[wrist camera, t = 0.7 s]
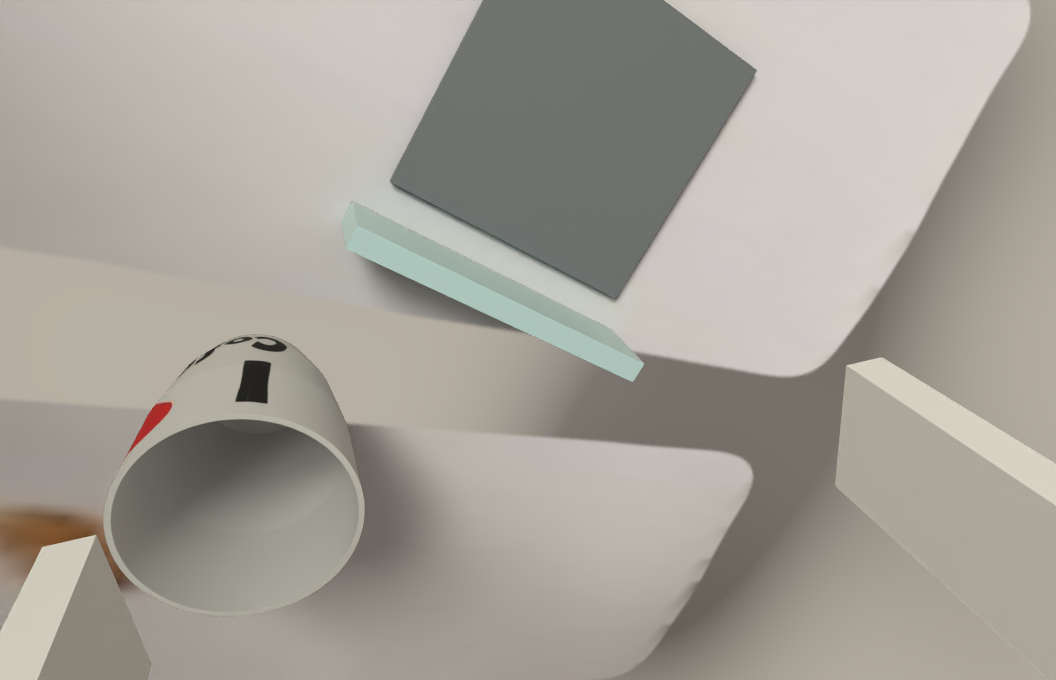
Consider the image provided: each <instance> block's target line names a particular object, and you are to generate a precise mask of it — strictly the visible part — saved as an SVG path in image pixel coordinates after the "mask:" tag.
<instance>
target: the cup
mask: <svg viewBox="0 0 1056 680" xmlns="http://www.w3.org/2000/svg"><path fill="white" fill-rule="evenodd" d="M364 516H365V504H364V496H363V491H362V487H361V483H360V478H359V474H358V469H357V465H356V460H355V456H354V451H353V447H352V442H351V438H350V433H349V429H348V426H347V424H346V421H345V419H344V417H343V415H342V413H341V410H340V408H339V406H338V404H337V402H336V400H335V398H334V395H333V393H332V391H331V389H330V387H329V385H328V383H327V381H326V379H325V377H324V376H323V374H322V373H321V372H320V371H319V370H318V368H317V367H316V366H315V365H314V364H313V363H312V362H311V361H310V360H308V358H307V357H306V356H305V355H304V354H302V352H300V351H299V350H298V349H297V348H296V347H295V346H293V345H292V344H290V343H288V342H286V341H284V340H282V339H279V338H276V337H273V336H267V335H257V334H254V335H244V336H239V337H235V338H232V339H230V340H228V341H226V342H224V343H222V344H220V345H218V346H217V347H215V348H213V349H212V350H210V351H208V352H206V353H205V354H203V355H201V356H200V357H198V358H197V359H196V360H194V361H193V362H192V363H191V364H190V365H189V366H188V367H187V368H186V369H185V370H184V371H183V372H182V374H181V375H180V376H179V377H178V378H177V379H176V381H175V382H174V383H173V384H172V385H171V387H170V388H169V389H168V390H167V391H166V393H165V394H164V395H163V396H162V397H161V399H160V400H159V401H158V402H157V403H156V405H155V406H154V407H153V408H152V410H151V411H150V413H149V414H148V416H147V418H146V420H145V422H144V424H143V426H142V427H141V429H140V431H139V433H138V435H137V437H136V439H135V441H134V443H133V444H132V446H131V448H130V450H129V452H128V454H127V456H126V458H125V460H124V461H123V463H122V465H121V467H120V469H119V471H118V473H117V475H116V477H115V479H114V480H113V482H112V485H111V487H110V489H109V492H108V495H107V498H106V502H105V507H104V533H105V538H106V541H107V545H108V548H109V550H110V552H111V554H112V557H113V558H114V560H115V562H116V563H117V565H118V567H119V568H120V569H121V571H122V572H123V573H124V574H125V575H126V576H127V578H128V579H129V580H130V581H131V582H132V583H134V584H135V585H136V586H137V587H138V588H140V589H141V590H142V591H144V592H145V593H146V594H148V595H150V596H151V597H153V598H155V599H156V600H158V601H160V602H162V603H165V604H167V605H169V606H172V607H174V608H177V609H180V610H184V611H187V612H191V613H196V614H202V615H209V616H222V617H234V616H247V615H255V614H260V613H265V612H269V611H273V610H276V609H279V608H283V607H285V606H288V605H290V604H293V603H295V602H297V601H299V600H301V599H303V598H305V597H307V596H309V595H311V594H312V593H314V592H315V591H317V590H318V589H320V588H321V587H323V586H324V585H325V584H326V583H328V582H329V581H330V580H331V579H332V578H333V577H334V576H335V575H336V574H337V573H338V572H339V571H340V570H341V569H342V568H343V566H344V565H345V564H346V563H347V561H348V560H349V558H350V557H351V555H352V554H353V552H354V550H355V548H356V546H357V544H358V541H359V539H360V536H361V533H362V529H363V524H364Z"/></svg>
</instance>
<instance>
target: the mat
mask: <svg viewBox="0 0 1056 680" xmlns="http://www.w3.org/2000/svg"><path fill="white" fill-rule="evenodd" d="M756 71H757V70H756V69H754V68H753V67H752V66H750V65H749V64H748V63H746V62H745V61H744V60H742V59H741V58H740V57H738V56H737V55H736V54H734V53H733V52H732V51H730V50H729V49H728V48H726V47H725V46H724V45H722V44H721V43H720V42H718V41H717V40H716V39H714V38H713V37H712V36H710V35H709V34H708V33H706V32H705V31H704V30H702V29H701V28H700V27H699V26H697V25H696V24H695V23H693V22H692V21H691V20H689V19H688V18H687V17H685V16H684V15H683V14H681V13H680V12H679V11H677V10H676V9H675V8H673V7H672V6H671V5H669V4H668V3H667V2H665V1H664V0H483V1H482V3H481V5H480V7H479V9H478V11H477V13H476V15H475V17H474V19H473V21H472V23H471V25H470V27H469V29H468V31H467V32H466V34H465V36H464V38H463V40H462V42H461V44H460V46H459V48H458V50H457V52H456V54H455V56H454V58H453V60H452V62H451V63H450V65H449V67H448V69H447V71H446V73H445V75H444V77H443V79H442V81H441V83H440V85H439V87H438V89H437V91H436V92H435V94H434V96H433V98H432V100H431V102H430V104H429V106H428V108H427V110H426V112H425V114H424V116H423V118H422V120H421V122H420V123H419V125H418V127H417V129H416V131H415V133H414V135H413V137H412V139H411V141H410V143H409V145H408V147H407V149H406V151H405V152H404V154H403V156H402V158H401V160H400V162H399V164H398V166H397V168H396V170H395V172H394V174H393V176H392V178H391V180H390V182H391V183H393V184H395V185H397V186H398V187H400V188H402V189H404V190H406V191H408V192H410V193H412V194H414V195H416V196H418V197H420V198H422V199H424V200H425V201H427V202H429V203H431V204H433V205H435V206H437V207H439V208H441V209H443V210H445V211H447V212H449V213H451V214H453V215H454V216H456V217H458V218H460V219H462V220H464V221H466V222H468V223H470V224H472V225H474V226H476V227H478V228H480V229H481V230H483V231H485V232H487V233H489V234H491V235H493V236H495V237H497V238H499V239H501V240H503V241H505V242H507V243H509V244H510V245H512V246H514V247H516V248H518V249H520V250H522V251H524V252H526V253H528V254H530V255H532V256H534V257H536V258H537V259H539V260H541V261H543V262H545V263H547V264H549V265H551V266H553V267H555V268H557V269H559V270H561V271H563V272H565V273H566V274H568V275H570V276H572V277H574V278H576V279H578V280H580V281H582V282H584V283H586V284H588V285H590V286H592V287H593V288H595V289H597V290H599V291H601V292H603V293H605V294H607V295H609V296H611V297H613V298H615V299H616V298H617V296H618V294H619V293H620V291H621V290H622V288H623V286H624V285H625V283H626V282H627V280H628V278H629V277H630V275H631V273H632V272H633V270H634V269H635V267H636V265H637V264H638V262H639V261H640V259H641V257H642V256H643V254H644V252H645V251H646V249H647V248H648V246H649V244H650V243H651V241H652V239H653V238H654V236H655V235H656V233H657V231H658V230H659V228H660V227H661V225H662V223H663V222H664V220H665V218H666V217H667V215H668V214H669V212H670V210H671V209H672V207H673V205H674V204H675V202H676V201H677V199H678V197H679V196H680V194H681V193H682V191H683V189H684V188H685V186H686V184H687V183H688V181H689V180H690V178H691V176H692V175H693V173H694V172H695V170H696V168H697V167H698V165H699V163H700V162H701V160H702V159H703V157H704V155H705V154H706V152H707V150H708V149H709V147H710V146H711V144H712V142H713V141H714V139H715V138H716V136H717V134H718V133H719V131H720V129H721V128H722V126H723V125H724V123H725V121H726V120H727V118H728V116H729V115H730V113H731V112H732V110H733V108H734V107H735V105H736V104H737V102H738V100H739V99H740V97H741V95H742V94H743V92H744V91H745V89H746V87H747V86H748V84H749V83H750V81H751V79H752V78H753V76H754V74H755V73H756Z"/></svg>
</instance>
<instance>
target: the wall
mask: <svg viewBox="0 0 1056 680" xmlns="http://www.w3.org/2000/svg"><path fill="white" fill-rule="evenodd" d="M342 227H343V234H344V240H345V247H346V249H347V250H349V251H352V252H354V253H356V254H358V255H360V256H362V257H365V258H367V259H369V260H371V261H373V262H375V263H377V264H380V265H382V266H384V267H386V268H388V269H390V270H392V271H395V272H397V273H399V274H401V275H403V276H405V277H407V278H410V279H412V280H414V281H416V282H418V283H420V284H423V285H425V286H427V287H429V288H431V289H433V290H435V291H438V292H440V293H442V294H444V295H446V296H448V297H450V298H453V299H455V300H457V301H459V302H461V303H463V304H466V305H468V306H470V307H472V308H474V309H476V310H478V311H481V312H483V313H485V314H487V315H489V316H491V317H493V318H496V319H498V320H500V321H502V322H504V323H506V324H508V325H511V326H513V327H515V328H517V329H519V330H521V331H524V332H526V333H528V334H530V335H532V336H534V337H536V338H539V339H541V340H543V341H545V342H547V343H549V344H552V345H554V346H556V347H558V348H560V349H562V350H564V351H567V352H569V353H571V354H573V355H575V356H577V357H579V358H582V359H584V360H586V361H588V362H591V363H592V364H594V365H597V366H599V367H601V368H603V369H605V370H607V371H610V372H612V373H614V374H616V375H618V376H620V377H623V378H625V379H627V380H629V381H631V382H633V381H634V379H635V378H636V376H637V375H638V373H639V371H640V370H641V368H642V367H643V365H644V363H643V362H642V361H641V360H640V359H639V358H638V357H637V356H636V354H635V353H634V352H633V351H632V350H631V349H630V348H629V347H628V346H627V345H626V344H625V343H624V342H623V341H622V339H621V338H620V337H619V336H618V335H617V334H616V333H615V332H614V331H613V330H612V329H610V328H608V327H606V326H604V325H602V324H599V323H597V322H595V321H593V320H591V319H589V318H587V317H585V316H583V315H581V314H579V313H577V312H575V311H573V310H571V309H569V308H567V307H565V306H563V305H561V304H559V303H557V302H555V301H553V300H551V299H549V298H547V297H545V296H543V295H541V294H539V293H537V292H535V291H533V290H531V289H529V288H527V287H525V286H523V285H521V284H519V283H517V282H515V281H513V280H511V279H509V278H507V277H505V276H503V275H501V274H499V273H497V272H494V271H492V270H490V269H488V268H486V267H484V266H482V265H480V264H478V263H476V262H474V261H472V260H470V259H468V258H466V257H464V256H462V255H460V254H458V253H456V252H454V251H452V250H450V249H448V248H446V247H444V246H442V245H440V244H438V243H436V242H434V241H432V240H430V239H428V238H426V237H424V236H422V235H420V234H418V233H416V232H414V231H412V230H410V229H408V228H406V227H404V226H402V225H400V224H398V223H396V222H394V221H391V220H389V219H387V218H385V217H383V216H381V215H379V214H377V213H375V212H373V211H371V210H369V209H367V208H365V207H363V206H361V205H359V204H357V203H355V202H353V201H352V202H351V204H350V206H349V208H348V210H347V212H346V214H345V216H344V218H343V220H342Z"/></svg>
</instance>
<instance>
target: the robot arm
mask: <svg viewBox="0 0 1056 680" xmlns="http://www.w3.org/2000/svg"><path fill="white" fill-rule="evenodd" d="M835 486H836V487H837V488H838V489H839V490H840V491H841V492H843V493H844V494H845V495H846V496H847V497H848V498H849V499H850V500H851V501H853V503H855V504H856V505H857V506H858V507H859V508H860V509H861V510H862V511H863V512H864V513H866V514H867V515H868V516H869V517H870V518H871V519H872V520H873V521H874V522H875V523H877V524H878V525H879V526H880V527H881V528H882V529H883V530H884V531H885V532H886V533H887V534H889V535H890V536H891V537H892V538H893V539H894V540H895V541H896V542H897V543H899V545H901V546H902V547H903V548H904V549H905V550H906V551H907V552H908V553H909V554H910V555H911V556H913V557H914V558H915V559H916V560H917V561H918V562H919V563H920V564H921V565H922V566H923V567H925V568H926V569H927V570H928V571H929V572H930V573H931V574H933V576H935V577H936V578H937V579H938V580H939V581H940V582H941V583H942V584H943V585H944V586H945V587H946V588H948V589H949V590H950V591H951V592H952V593H953V594H954V595H955V596H956V597H958V598H959V599H960V600H961V601H962V602H963V603H964V604H965V605H966V606H967V607H968V608H969V609H971V610H972V611H973V612H974V613H975V614H976V615H977V616H978V617H979V618H980V619H981V620H983V621H984V622H985V623H986V624H987V625H988V626H989V627H990V628H991V629H992V630H994V631H995V632H996V633H997V634H998V635H999V636H1000V637H1001V638H1002V639H1003V640H1004V641H1006V642H1007V643H1008V644H1009V645H1010V646H1011V647H1012V648H1013V649H1014V650H1016V651H1017V652H1018V653H1019V654H1020V655H1021V656H1022V657H1023V658H1024V659H1025V660H1026V661H1028V662H1029V663H1030V664H1031V665H1032V666H1033V667H1034V668H1035V669H1036V670H1037V671H1038V672H1039V673H1041V674H1042V675H1043V676H1044V677H1045V678H1046V679H1047V680H1056V464H1055V463H1053V462H1052V461H1050V460H1048V459H1047V458H1045V457H1044V456H1042V455H1040V454H1039V453H1037V452H1035V451H1034V450H1032V449H1030V448H1029V447H1027V446H1026V445H1024V444H1022V443H1021V442H1019V441H1017V440H1016V439H1014V438H1012V437H1011V436H1009V435H1008V434H1006V433H1004V432H1003V431H1001V430H1000V429H998V428H996V427H994V426H993V425H991V424H990V423H988V422H987V421H985V420H983V419H981V418H980V417H978V416H977V415H975V414H973V413H972V412H970V411H969V410H967V409H965V408H964V407H962V406H960V405H959V404H957V403H956V402H954V401H952V400H951V399H949V398H947V397H946V396H944V395H943V394H941V393H939V392H938V391H936V390H934V389H933V388H931V387H929V386H928V385H926V384H925V383H923V382H921V381H920V380H918V379H916V378H915V377H913V376H912V375H910V374H908V373H907V372H905V371H903V370H902V369H900V368H898V367H897V366H895V365H893V364H892V363H890V362H889V361H887V360H885V359H884V358H878V359H873V360H868V361H864V362H860V363H855V364H851V365H847V366H846V375H845V386H844V396H843V407H842V418H841V429H840V440H839V450H838V461H837V472H836V483H835ZM150 667H151V661H150V659H149V657H148V654H147V652H146V650H145V647H144V645H143V643H142V640H141V638H140V636H139V633H138V631H137V629H136V626H135V624H134V622H133V619H132V617H131V615H130V612H129V610H128V608H127V605H126V603H125V601H124V598H123V596H122V594H121V591H120V589H119V587H118V584H117V582H116V580H115V577H114V575H113V573H112V570H111V568H110V566H109V563H108V561H107V559H106V556H105V554H104V552H103V549H102V547H101V545H100V542H99V540H98V538H97V535H94V536H89V537H85V538H80V539H76V540H72V541H67V542H63V543H58V544H54V545H49V546H45V547H42V549H41V551H40V553H39V555H38V557H37V559H36V561H35V563H34V565H33V567H32V569H31V571H30V573H29V575H28V577H27V579H26V581H25V583H24V585H23V587H22V589H21V591H20V593H19V595H18V597H17V599H16V601H15V603H14V605H13V607H12V609H11V611H10V613H9V615H8V617H7V619H6V621H5V623H4V625H3V627H2V629H1V631H0V680H147V679H148V675H149V671H150Z"/></svg>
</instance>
